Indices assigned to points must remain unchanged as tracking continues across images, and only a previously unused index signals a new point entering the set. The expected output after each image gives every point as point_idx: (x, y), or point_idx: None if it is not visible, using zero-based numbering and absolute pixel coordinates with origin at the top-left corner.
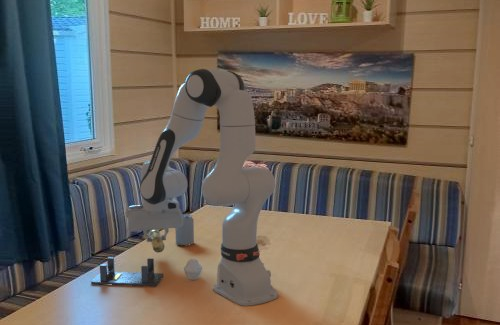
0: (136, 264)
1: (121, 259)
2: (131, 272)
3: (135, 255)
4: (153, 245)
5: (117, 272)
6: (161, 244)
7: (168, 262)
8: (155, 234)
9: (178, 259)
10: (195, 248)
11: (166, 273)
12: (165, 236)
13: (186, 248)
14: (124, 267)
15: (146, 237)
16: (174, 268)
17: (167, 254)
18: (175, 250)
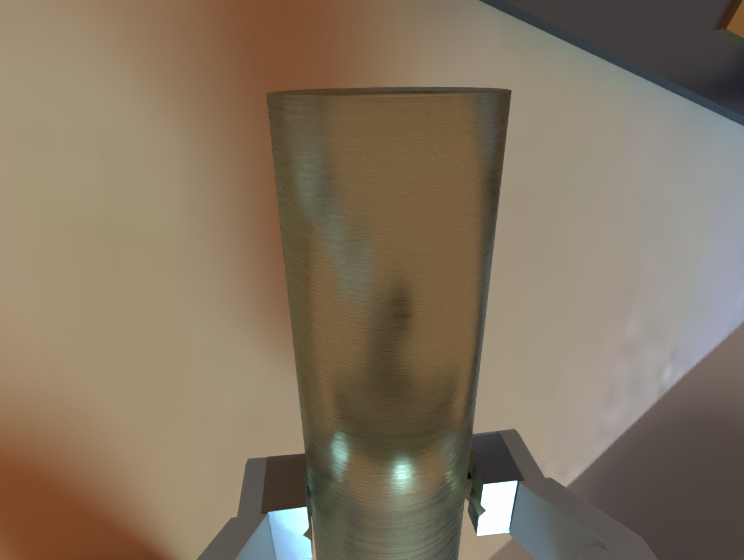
0: (518, 302)
1: (596, 409)
2: (625, 56)
3: None
4: (505, 92)
5: (734, 94)
6: (330, 94)
7: (259, 297)
8: (410, 552)
9: (170, 347)
10: (43, 536)
11: (280, 8)
12: (244, 506)
13: (120, 540)
14: (615, 259)
15: (552, 479)
16: (197, 136)
17: (267, 454)
18: (206, 514)
